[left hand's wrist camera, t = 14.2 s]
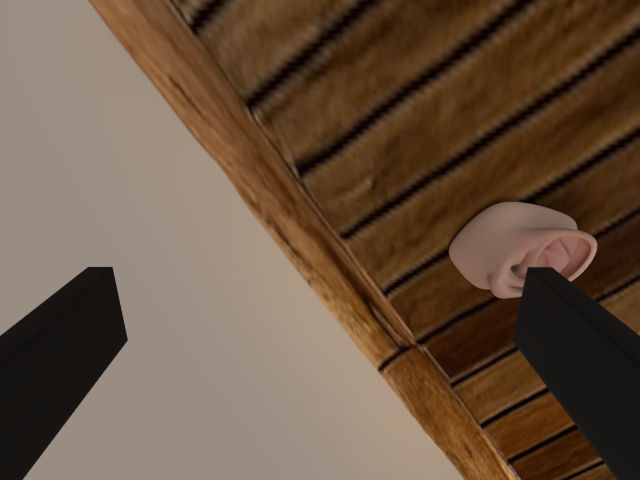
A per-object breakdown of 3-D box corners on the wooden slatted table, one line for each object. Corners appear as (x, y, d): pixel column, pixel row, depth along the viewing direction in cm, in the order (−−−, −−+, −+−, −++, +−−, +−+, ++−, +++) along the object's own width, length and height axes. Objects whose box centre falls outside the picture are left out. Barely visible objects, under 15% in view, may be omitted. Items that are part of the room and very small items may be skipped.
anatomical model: (445, 285, 42) (504, 188, 38) (435, 269, 46) (487, 179, 42) (549, 327, 44) (615, 238, 40) (532, 308, 48) (590, 225, 44)
